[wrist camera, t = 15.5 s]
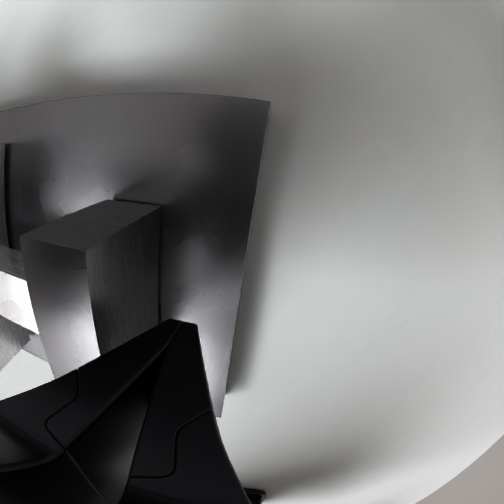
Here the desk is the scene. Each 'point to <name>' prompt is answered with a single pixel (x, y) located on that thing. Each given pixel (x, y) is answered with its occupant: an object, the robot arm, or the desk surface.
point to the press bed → (150, 192)
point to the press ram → (79, 281)
